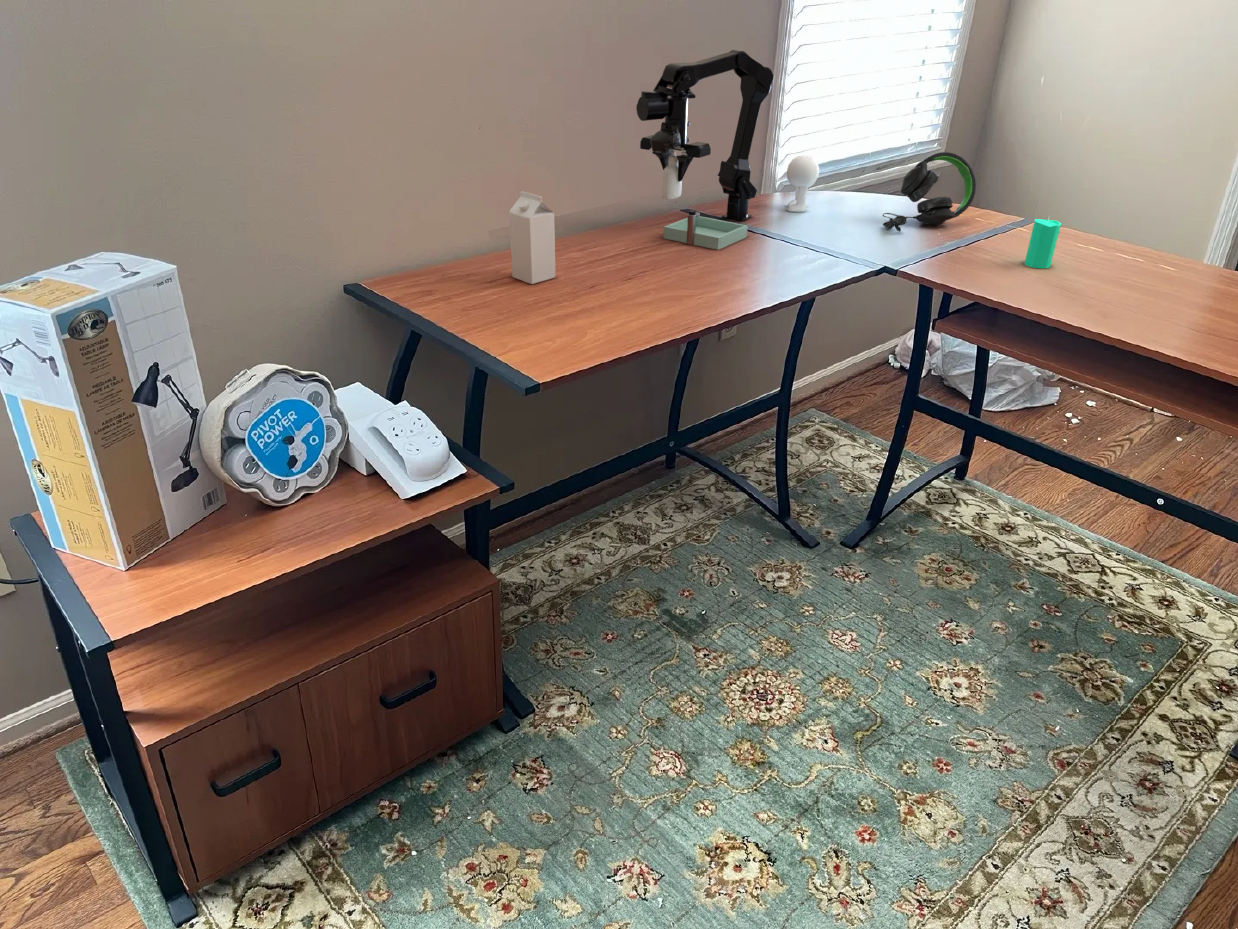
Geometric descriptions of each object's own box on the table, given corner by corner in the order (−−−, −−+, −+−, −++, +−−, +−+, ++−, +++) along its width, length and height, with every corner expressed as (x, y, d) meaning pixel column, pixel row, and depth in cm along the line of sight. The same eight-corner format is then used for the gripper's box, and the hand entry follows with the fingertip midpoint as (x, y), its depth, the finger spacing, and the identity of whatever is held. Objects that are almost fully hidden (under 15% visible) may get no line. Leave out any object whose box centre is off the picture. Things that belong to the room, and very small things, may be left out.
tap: (692, 240, 236) (694, 207, 232) (700, 242, 235) (702, 209, 231) (684, 243, 233) (686, 211, 229) (691, 245, 232) (693, 212, 228)
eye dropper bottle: (659, 194, 243) (660, 149, 236) (679, 193, 244) (681, 148, 237) (663, 200, 240) (665, 154, 233) (684, 198, 241) (686, 153, 234)
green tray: (693, 226, 248) (694, 214, 246) (746, 237, 239) (747, 225, 238) (663, 238, 238) (663, 226, 236) (718, 250, 229) (718, 237, 228)
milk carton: (535, 270, 213) (533, 188, 203) (555, 278, 209) (553, 194, 199) (512, 277, 209) (508, 193, 199) (531, 285, 204) (528, 199, 195)
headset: (893, 257, 254) (975, 200, 256) (915, 249, 241) (1002, 189, 243) (859, 202, 252) (943, 144, 253) (880, 191, 238) (968, 131, 240)
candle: (1020, 264, 222) (1032, 215, 216) (1029, 259, 225) (1041, 210, 219) (1044, 270, 218) (1057, 220, 212) (1054, 264, 222) (1067, 215, 216)
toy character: (782, 204, 270) (787, 151, 262) (813, 205, 269) (819, 152, 261) (783, 212, 262) (789, 158, 254) (815, 213, 261) (822, 159, 253)
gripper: (627, 117, 231) (627, 180, 239) (689, 126, 222) (686, 191, 230) (653, 112, 239) (651, 172, 247) (713, 120, 229) (709, 183, 237)
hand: (673, 180), depth 240 cm, fingers closed on eye dropper bottle, 3 cm apart
